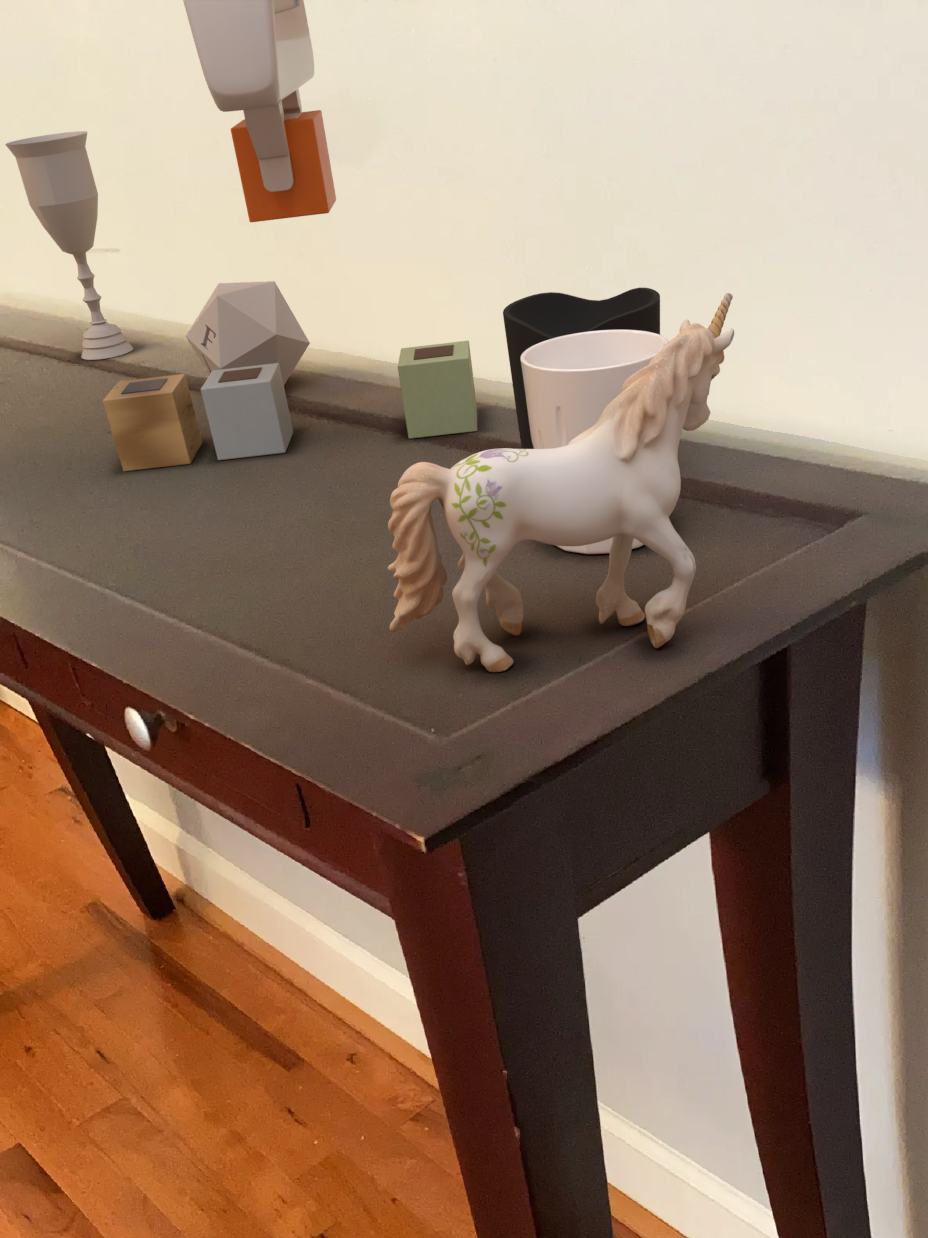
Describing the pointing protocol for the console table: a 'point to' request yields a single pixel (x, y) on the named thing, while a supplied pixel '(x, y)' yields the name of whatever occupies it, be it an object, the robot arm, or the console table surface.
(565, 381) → the white cup
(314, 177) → the orange block
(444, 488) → the unicorn figurine
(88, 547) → the console table surface
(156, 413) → the line block
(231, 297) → the die
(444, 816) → the console table surface
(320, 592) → the console table surface
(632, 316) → the pen holder
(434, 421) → the line block
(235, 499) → the console table surface
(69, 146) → the chalice
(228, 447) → the line block
